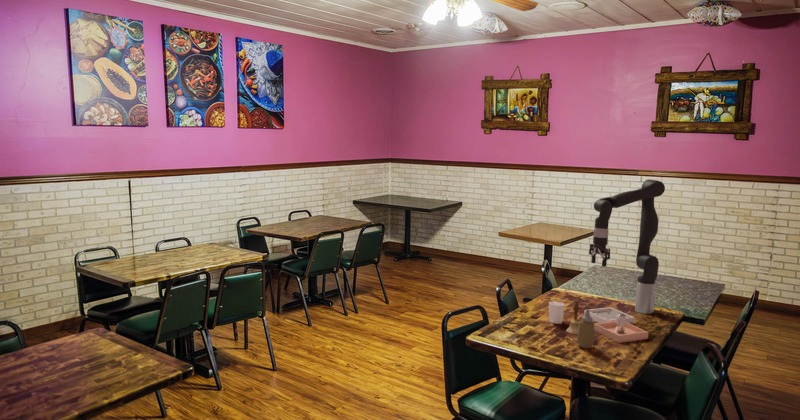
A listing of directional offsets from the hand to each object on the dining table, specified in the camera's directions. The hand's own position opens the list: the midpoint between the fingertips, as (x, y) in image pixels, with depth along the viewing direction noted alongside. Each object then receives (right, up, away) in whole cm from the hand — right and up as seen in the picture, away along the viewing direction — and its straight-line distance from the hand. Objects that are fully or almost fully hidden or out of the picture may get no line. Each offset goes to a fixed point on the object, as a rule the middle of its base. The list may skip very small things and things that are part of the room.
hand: (598, 264), depth 312 cm
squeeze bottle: (-22, -34, -46) cm, 61 cm away
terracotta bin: (+1, -32, -28) cm, 43 cm away
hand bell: (-21, -32, -26) cm, 46 cm away
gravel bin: (+3, -29, -6) cm, 30 cm away
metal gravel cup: (+1, -31, -28) cm, 42 cm away
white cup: (-27, -30, -11) cm, 42 cm away
